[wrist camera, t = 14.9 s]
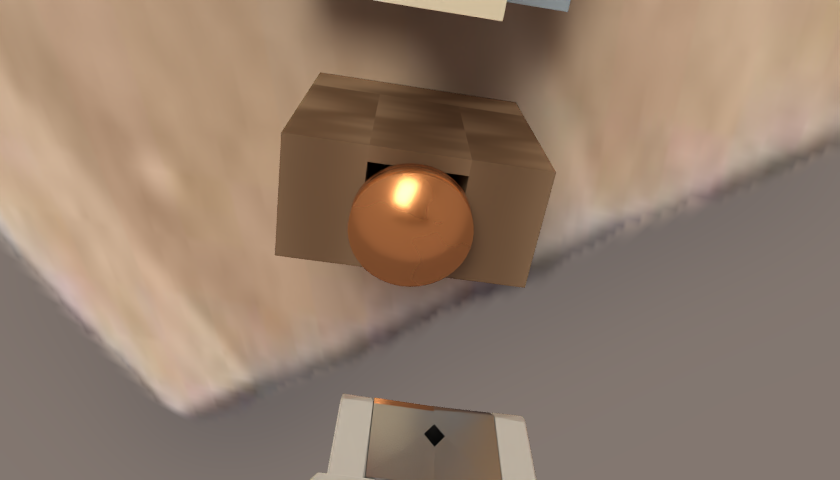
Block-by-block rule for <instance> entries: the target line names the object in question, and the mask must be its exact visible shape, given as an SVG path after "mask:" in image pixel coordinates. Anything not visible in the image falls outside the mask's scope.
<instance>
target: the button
mask: <svg viewBox="0 0 840 480" xmlns="http://www.w3.org/2000/svg"><path fill="white" fill-rule="evenodd" d="M473 235H474V225H473V218H472V213H471V208H470V205H469V201H468V199H467V197H466V195H465V193H464V191H463V190H462V188H461V187H460V186H459V184H458V183H457V182H456V181H455V180H454V179H453V178H451V177H450V176H449V175H447V174H446V173H444V172H443V171H441V170H439V169H437V168H434V167H431V166H428V165H423V164H415V163H405V164H398V165H387V164H381V170H380V171H379V172H377V173H376V174H374V175H373V176H371V177H370V178H369V179H368V180H367V181H366V182H365V183H364V184H363V185H362V186H361V188H360V189H359V190H358V192H357V194H356V196H355V198H354V200H353V203H352V207H351V211H350V216H349V221H348V239H349V243H350V247H351V249H352V252H353V254H354V255H355V257H356V259H357V260H358V261H359V263H360V264H361V265H362V266H363V267H364V268H365V269H366V270H367V271H368V272H369V273H371V274H372V275H373V276H375V277H377V278H379V279H380V280H383V281H385V282H388V283H391V284H394V285H399V286H409V287H411V286H422V285H427V284H431V283H434V282H437V281H439V280H441V279H443V278H445V277H447V276H448V275H450V274H451V273H452V272H454V271H455V270H456V269H457V268H458V267H459V266H460V265H461V263H462V262H463V261H464V260H465V258H466V256H467V255H468V253H469V250H470V248H471V245H472V242H473Z"/></svg>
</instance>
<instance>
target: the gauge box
mask: <svg viewBox="0 0 840 480" xmlns="http://www.w3.org/2000/svg"><path fill="white" fill-rule="evenodd" d="M405 163H415V164H423V165H428V166H431V167H434V168H437V169H439V170H441V171H443V172H444V173H446V174H447V175H449V176H450V177H451V178H453V179H454V180H455V181H456V182H457V183H458V184H459V186H460V187H461V188H462V190H463V191H464V193H465V195H466V197H467V199H468V201H469V205H470V208H471V213H472V218H473V225H474V235H473V242H472V245H471V248H470V250H469V253H468V255H467V256H466V258H465V260H464V261H463V262H462V263H461V265H460V266H459V267H458V268H457V269H456V270H455V271H454V272H452V273H451V274H450V275H448V276H447V277H446V278H454V279H462V280H469V281H477V282H485V283H493V284H500V285H508V286H516V287H524V288H525V285H526V281H527V277H528V274H529V270H530V266H531V262H532V259H533V255H534V251H535V248H536V244H537V240H538V237H539V233H540V229H541V226H542V222H543V218H544V215H545V211H546V207H547V204H548V200H549V196H550V192H551V189H552V185H553V181H554V178H555V174H556V171H555V170H554V168H553V166H552V165H551V163H550V161H549V159H548V158H547V156H546V154H545V152H544V151H543V149H542V147H541V145H540V144H539V142H538V140H537V139H536V137H535V135H534V133H533V132H532V130H531V128H530V126H529V125H528V123H527V121H526V120H525V118H524V116H523V114H522V113H521V111H520V109H519V107H518V106H517V104H516V103H515V102H509V101H502V100H496V99H489V98H483V97H476V96H469V95H463V94H456V93H450V92H443V91H437V90H430V89H424V88H417V87H411V86H404V85H398V84H391V83H384V82H378V81H371V80H365V79H358V78H352V77H345V76H339V75H332V74H326V73H320V74H319V75H318V77H317V78H316V80H315V82H314V83H313V85H312V86H311V88H310V89H309V91H308V92H307V94H306V95H305V97H304V99H303V100H302V102H301V103H300V105H299V106H298V108H297V109H296V111H295V112H294V114H293V115H292V117H291V119H290V120H289V122H288V123H287V125H286V126H285V128H284V129H283V131H282V132H281V150H280V169H279V188H278V207H277V226H276V245H275V255H276V256H284V257H291V258H299V259H307V260H315V261H322V262H330V263H338V264H346V265H353V266H361V267H363V266H362V265H361V264H360V263H359V261H358V260H357V259H356V257H355V255H354V254H353V252H352V249H351V247H350V243H349V239H348V221H349V216H350V211H351V207H352V203H353V200H354V198H355V196H356V194H357V192H358V190H359V189H360V188H361V186H362V185H363V184H364V183H365V182H366V181H367V180H368V179H369V178H370V177H371V176H373V175H374V174H376V173H377V172H379V171H380V170H381V164H387V165H398V164H405Z"/></svg>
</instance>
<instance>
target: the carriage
mask: <svg viewBox="0 0 840 480" xmlns="http://www.w3.org/2000/svg"><path fill="white" fill-rule="evenodd" d="M375 1H381V2H387V3H393V4H400V5H406V6H412V7H418V8H424V9H430V10H436V11H442V12H449V13H455V14H461V15H467V16H473V17H479V18H485V19H491V20H498V21H503V17H504V13H505V8H506V3H507V2H510V3H516V4H522V5H529V6H535V7H541V8H547V9H553V10H559V11H565V12H568V9H569V5H570V1H571V0H375Z"/></svg>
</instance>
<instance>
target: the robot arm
mask: <svg viewBox="0 0 840 480" xmlns="http://www.w3.org/2000/svg"><path fill="white" fill-rule="evenodd" d="M310 480H537V479H536V474H535V469H534V464H533V458H532V453H531V448H530V443H529V438H528V433H527V428H526V422H525V420H524V418H523V417H522V416H517V415H508V414H498V413H492V414H491V413H486V412H478V411H470V410H461V409H452V408H443V407H435V406H427V405H420V404H413V403H407V402H400V401H393V400H386V399H380V398H374V401H373V398H368V397H362V396H355V395H349V394H343V396H342V398H341V401H340V406H339V411H338V417H337V422H336V428H335V433H334V439H333V444H332V450H331V455H330V460H329V466H328V471H327V473H317V474H316V475H315V476H313V477H312V478H311V479H310Z"/></svg>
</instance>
